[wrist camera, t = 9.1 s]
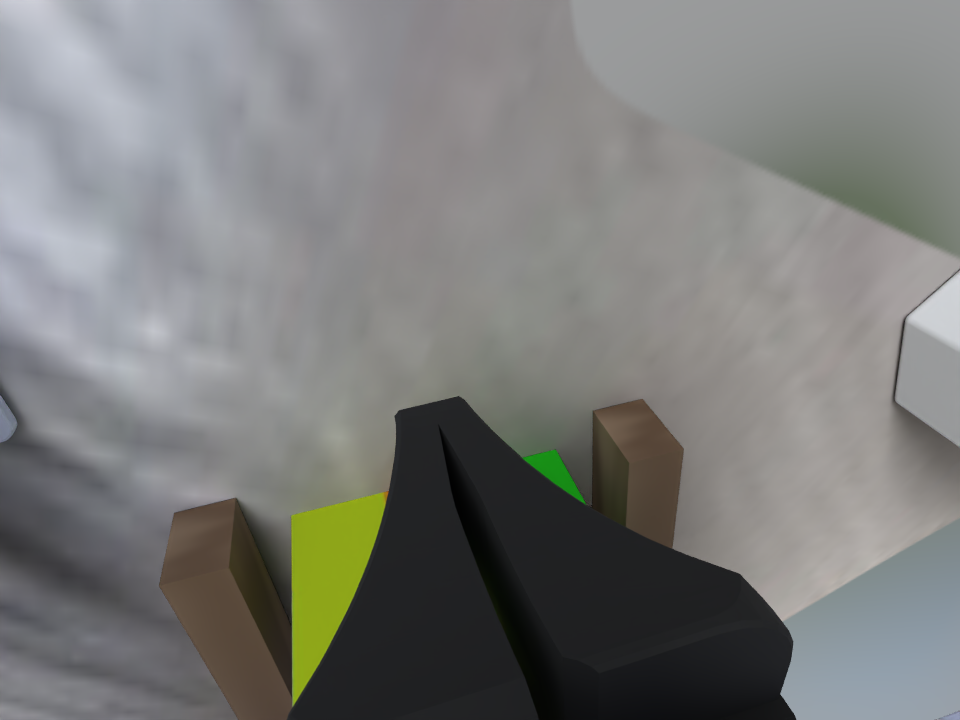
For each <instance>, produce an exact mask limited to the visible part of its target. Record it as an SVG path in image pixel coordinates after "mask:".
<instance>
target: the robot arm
mask: <svg viewBox="0 0 960 720" xmlns="http://www.w3.org/2000/svg"><path fill="white" fill-rule="evenodd" d="M395 421H396V447H395V458H394V464H393V470H392V476H391V483H390V488H389V492H388V496H387V500H386V504H385V508H384V512H383V516H382V520H381V524H380V527H379V530H378V534H377V537H376V540H375V543H374V546H373V549H372V552H371V554H370V557H369V560H368V563H367V565H366V568H365V570H364V573H363V575H362V578H361V580H360V582H359V585H358V587H357V590H356V592H355V594H354V597H353V599H352V601H351V603H350V605H349V608H348V610H347V612H346V614H345V616H344V618H343V620H342V622H341V623H340V625H339V627H338V629H337V631H336V633H335V635H334V637H333V639H332V641H331V643H330V645H329V647H328V649H327V651H326V653H325V654H324V656H323V658H322V660H321V661H320V663H319V665H318V667H317V668H316V670H315V671H314V673H313V675H312V676H311V678H310V680H309V681H308V683H307V684H306V686H305V688H304V689H303V691H302V693H301V694H300V696H299V697H298V699H297V701H296V702H295V704H294V706H293V707H292V709H291V710H290V712H289V714H288V717H287V720H796V718H795V715H794V713H793V712H792V711H791V709H790V708H789V706H788V705H787V703H786V702H785V700H784V699H783V698H782V696H781V695H780V692H781V690H782V687H783V684H784V680H785V677H786V674H787V671H788V668H789V665H790V662H791V657H792V649H793V640H792V637H791V635H790V632H789V630H788V629H787V628H786V626H785V625H784V624H783V622H782V621H781V620H780V618H779V617H778V616H777V615H776V613H775V612H774V611H773V609H772V608H771V607H770V606H769V605H768V604H767V602H766V601H765V600H764V599H763V598H762V597H761V596H760V595H759V594H758V593H757V591H756V590H755V589H754V588H753V587H752V586H751V585H750V584H749V583H748V582H747V581H746V580H745V579H744V578H743V577H742V576H741V575H740V574H738V573H736V572H733V571H730V570H727V569H725V568H722V567H719V566H716V565H713V564H711V563H708V562H705V561H702V560H699V559H697V558H694V557H691V556H688V555H686V554H683V553H681V552H678V551H676V550H674V549H671V548H669V547H667V546H664V545H662V544H660V543H657V542H655V541H653V540H651V539H648V538H646V537H644V536H642V535H640V534H638V533H637V532H635V531H633V530H631V529H629V528H627V527H625V526H623V525H621V524H619V523H617V522H615V521H613V520H611V519H609V518H608V517H606V516H604V515H603V514H601V513H599V512H598V511H596V510H594V509H592V508H591V507H589V506H587V505H586V504H584V503H583V502H581V501H580V500H578V499H577V498H575V497H574V496H572V495H571V494H569V493H567V492H566V491H565V490H563V489H562V488H560V487H559V486H558V485H556V484H555V483H553V482H552V481H551V480H549V479H548V478H547V477H545V476H544V475H543V474H542V473H540V472H539V471H538V470H537V469H535V468H534V467H533V466H531V465H530V464H529V463H528V462H527V461H525V460H524V459H523V458H522V457H521V456H520V455H518V454H517V453H516V452H515V451H514V450H513V449H512V448H511V447H510V446H508V445H507V444H506V443H505V442H504V441H503V440H502V439H501V438H500V437H499V436H498V435H497V434H496V433H494V432H493V431H492V430H491V428H490V427H489V426H488V425H487V424H486V423H485V422H484V421H483V420H482V419H481V418H480V417H479V416H478V415H477V414H476V413H475V412H474V410H473V409H472V408H471V407H470V406H469V405H468V403H467V402H466V401H465V400H464V399H462V398H461V397H459V396H458V397H454V398H449V399H445V400H441V401H437V402H432V403H428V404H424V405H420V406H415V407H411V408H407V409H403V410H399V411H398V413H397V414H396V415H395ZM16 427H17V421H16V418H15V417H14V415H13V414H12V412H11V411H10V409H9V407H8V406H7V404H6V403H5V401H4V400H3V398H2V397H1V395H0V443H1V442H4V441H6V440H8V439H9V438H10V437H11V436H12V435H13V433H14V432H15V430H16ZM936 720H960V711H957V712H954V713H952V714H949V715H947V716H944V717H941V718H939V719H936Z"/></svg>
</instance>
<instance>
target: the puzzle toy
mask: <svg viewBox="0 0 960 720" xmlns="http://www.w3.org/2000/svg"><path fill="white" fill-rule="evenodd" d="M523 459H524V460H525V461H527V462H528V463H529V464H530V465H531V466H533V467H534V468H535V469H537V470H538V471H539V472H540V473H542V474H543V475H544V476H545V477H547V478H548V479H549V480H551V481H552V482H553V483H555V484H556V485H558V486H559V487H560V488H562V489H563V490H565V491H566V492H567V493H569V494H571V495H572V496H574V497H575V498H577V499H578V500H580V501H581V502H583V503H584V504H586V503H585V501H584V499H583V497H582V496H581V494H580V492H579V490H578V488H577V487H576V485H575V483H574V481H573V480H572V478H571V476H570V474H569V472H568V471H567V469H566V467H565V465H564V463H563V462H562V460H561V458H560V456H559V454H558V453H557V451H556V450H552V451H548V452H544V453H540V454H536V455H532V456H528V457H524V458H523ZM388 492H389V491H387V492H383V493H379V494H375V495H371V496H367V497H363V498H359V499H355V500H351V501H347V502H343V503H339V504H335V505H331V506H327V507H323V508H319V509H315V510H311V511H307V512H303V513H299V514H295V515H291V542H292V707H293V706H294V704H295V702H296V701H297V699H298V697H299V696H300V694H301V693H302V691H303V689H304V688H305V686H306V684H307V683H308V681H309V680H310V678H311V676H312V675H313V673H314V671H315V670H316V668H317V667H318V665H319V663H320V661H321V660H322V658H323V656H324V654H325V653H326V651H327V649H328V647H329V645H330V643H331V641H332V639H333V637H334V635H335V633H336V631H337V629H338V627H339V625H340V623H341V622H342V620H343V618H344V616H345V614H346V612H347V610H348V608H349V605H350V603H351V601H352V599H353V597H354V594H355V592H356V590H357V587H358V585H359V582H360V580H361V578H362V575H363V573H364V570H365V568H366V565H367V563H368V560H369V557H370V554H371V552H372V549H373V546H374V543H375V540H376V537H377V534H378V530H379V527H380V524H381V520H382V516H383V512H384V508H385V504H386V500H387V496H388Z"/></svg>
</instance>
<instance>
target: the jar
mask: <svg viewBox="0 0 960 720" xmlns="http://www.w3.org/2000/svg"><path fill="white" fill-rule="evenodd" d="M895 401H896V402H897V403H898V404H899V405H900V406H902V407H903V408H905V409H906V410H907V411H909V412H910V413H912V414H913V415H914V416H916V417H917V418H919V419H920V420H922V421H923V422H924V423H926V424H927V425H929V426H930V427H931V428H933V429H934V430H936V431H937V432H938V433H940V434H941V435H943V436H944V437H945V438H947V439H948V440H950V441H951V442H952V443H954V444H955V445H957V446H958V447H959V448H960V271H958V272H957V273H956V274H955V275H954V276H953V277H952V278H950V279H949V280H948V281H947V282H946V283H945V284H944V285H942V286H941V287H940V288H939V289H938V290H937V291H936V292H934V293H933V294H932V295H931V296H930V297H929V298H928V299H927V300H925V301H924V302H923V303H922V304H921V305H920V306H919V307H917V308H916V309H915V310H914V311H913V312H912V313H910V314H909V315H908V316H907V318H906V320H905V326H904V333H903V340H902V347H901V355H900V362H899V369H898V377H897V384H896V391H895Z"/></svg>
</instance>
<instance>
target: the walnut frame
mask: <svg viewBox="0 0 960 720" xmlns="http://www.w3.org/2000/svg"><path fill="white" fill-rule="evenodd" d="M683 451H684V449H683V447H682V446H681V445H680V444H679V443H678V441H677V440H676V439H675V438H674V437H673V435H672V434H671V433H670V432H669V430H668V429H667V428H666V427H665V426H664V424H663V423H662V422H661V421H660V420H659V418H658V417H657V416H656V415H655V414H654V412H653V411H652V410H651V409H650V407H649V406H648V405H647V404H646V403H645V401H644V400H643V399H640V400H636V401H632V402H628V403H624V404H620V405H616V406H611V407H607V408H603V409H599V410H595V411H593V481H592V509H594V510H596V511H598V512H599V513H601V514H603V515H604V516H606V517H608V518H609V519H611V520H613V521H615V522H617V523H619V524H621V525H623V526H625V527H627V528H629V529H631V530H633V531H635V532H637V533H638V534H640V535H642V536H644V537H646V538H648V539H651V540H653V541H655V542H657V543H660V544H662V545H664V546H667V547H669V548H671V549H672V546H673V537H674V529H675V520H676V511H677V503H678V494H679V485H680V477H681V468H682V460H683ZM159 587H160V588H161V590H162V592H163V594H164V595H165V597H166V599H167V600H168V602H169V604H170V605H171V607H172V609H173V610H174V612H175V614H176V615H177V617H178V619H179V620H180V622H181V624H182V625H183V627H184V629H185V630H186V632H187V634H188V636H189V637H190V639H191V641H192V642H193V644H194V646H195V647H196V649H197V651H198V652H199V654H200V656H201V657H202V659H203V661H204V662H205V664H206V666H207V667H208V669H209V671H210V672H211V674H212V676H213V678H214V679H215V681H216V683H217V684H218V686H219V688H220V689H221V691H222V693H223V694H224V696H225V698H226V699H227V701H228V703H229V704H230V706H231V708H232V709H233V711H234V713H235V714H236V716H237V718H238V720H287V717H288V714H289V712H290V710H291V709H292V627H291V624H290V622H289V620H288V617H287V615H286V613H285V610H284V608H283V606H282V604H281V601H280V599H279V597H278V594H277V592H276V590H275V587H274V585H273V583H272V581H271V578H270V576H269V574H268V571H267V569H266V567H265V564H264V562H263V560H262V558H261V555H260V553H259V551H258V548H257V546H256V544H255V541H254V539H253V537H252V535H251V532H250V530H249V528H248V525H247V523H246V521H245V518H244V516H243V514H242V512H241V509H240V507H239V505H238V502H237V500H236V498H234V499H230V500H226V501H222V502H218V503H214V504H209V505H205V506H201V507H197V508H193V509H189V510H185V511H181V512H177V513H174V517H173V521H172V526H171V531H170V536H169V540H168V545H167V550H166V555H165V559H164V564H163V569H162V574H161V579H160V583H159Z"/></svg>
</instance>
